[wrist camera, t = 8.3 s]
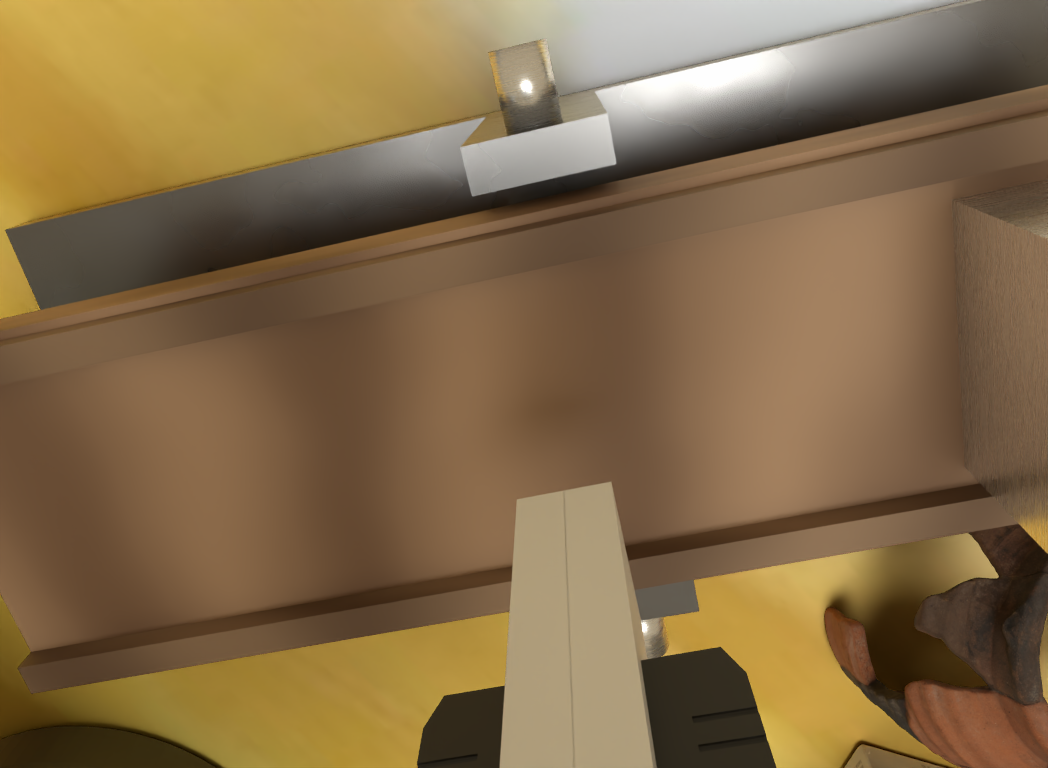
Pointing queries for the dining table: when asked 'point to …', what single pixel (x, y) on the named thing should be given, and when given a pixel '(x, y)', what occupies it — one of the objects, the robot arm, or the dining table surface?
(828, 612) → the brown spiky open ring
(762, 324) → the seesaw beam
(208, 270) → the pivot stand
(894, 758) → the coffee box
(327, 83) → the dining table surface
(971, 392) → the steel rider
